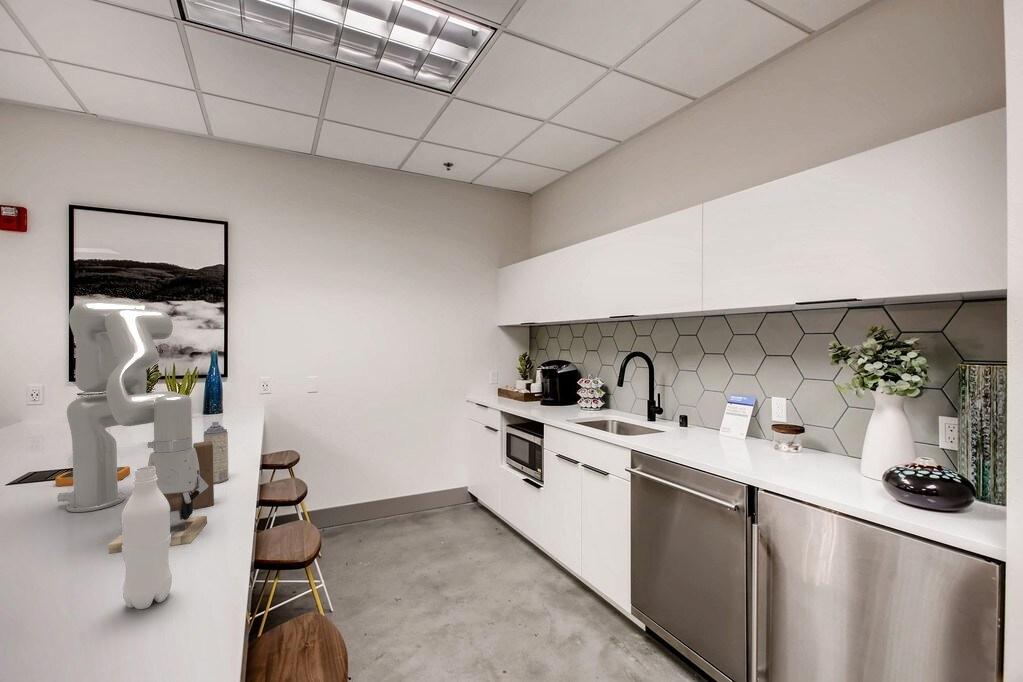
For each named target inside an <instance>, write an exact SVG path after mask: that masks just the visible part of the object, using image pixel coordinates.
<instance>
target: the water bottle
mask: <svg viewBox="0 0 1023 682" xmlns="http://www.w3.org/2000/svg"><path fill="white" fill-rule="evenodd" d="M155 473H156V469H155V467H154V466H148V465H147V466H142V467H138V468H136V469H135V470H134V479H133V483H132V484H134V487H133V492H132V494H131V495H130V496H129V498H128V500H127V502H126V503H125V506H124V507H123V510H122V512H121V517H120V520H121V523H122V524H121V525H122V526H121V527H122V530H121V531H122V532H121V534H123V544H122V552H121V553H122V555H123V559H124V564H125V577H124V581H123V582H124V583H123V585H122V598H123V600H124V602H125V604H126V606H127V607H128V608H131V609H132V608H135V609H137V610H145V609H148V608H149V607H151V605H152V603H153V601H154V600H155V601H156V602H157V603H162V602H163V601H165V600H166V598H167V597H168V595H169V594H170V591H171V587H172V583H173V579H172V578H173V576H172V572H171V569H170V564H169V552H170V547H171V546H170V542H171V534H170V505H169V503H168V501H167V499H166V498H165V496H164V495H163V494H162V492H161V491H160V490H159V488H158V486H157V483H156V480H158V478H157V477H156V476H157V475H156V474H155Z"/></svg>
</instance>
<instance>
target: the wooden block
mask: <svg viewBox="0 0 1023 682" xmlns="http://www.w3.org/2000/svg"><path fill="white" fill-rule="evenodd" d="M192 448H195V450H196V453H197V457H198V462H199V470H200V477H201V478H202V479H203V480H204V481H205V482H206V483H207V484H208V488H207V489H206V490H204V491H203V492H201V493H200V494H198V495H197V496H196V497H195V498H194V499H193V510H197V509H201V508H206V507H210V506H211V507H212V506H214V505H215V488H214V487H215V486H214V485H215V484H214V477H213V444H212V442H211V441H207V442H204V441H201V442H200V441H199V442H194V443H192ZM198 488H199V486H198V485H197V486H196V487H195V488H194V490H193V492H194V491H195V490H197V489H198Z"/></svg>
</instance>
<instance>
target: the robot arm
mask: <svg viewBox="0 0 1023 682" xmlns="http://www.w3.org/2000/svg"><path fill="white" fill-rule="evenodd" d="M68 320H69V321H68V322H69V326H70V329H71V332H72V335H73V336H74V337H73V338H74V341H75V344H76V345H75V346H76V351H75V384H76V387H77V389H78V390H80V391H82V392H85V393H96V392H98V393H99V392H105V394H99V395H89V396H84V397H80V398H77V399H75V400H74V399H73V401H71V402H70V403H69V405H68V406H67V408H66V418H67V421H68V425H69V429H70V435H71V447H72V471H73V485H72V486H73V491H72V492H60V493H58V495H56V496H57V497H56V498H57V502H58V503H59V502H68V503H67V505H66V507H65V508H66V511H67V512H71V513H86V512H91V511H97V510H102V509H107V508H110V507H112V506H116V505H118V504H120V503H122V502H123V501H124V500H125V498H126V497H125V494H124V493H122V492H121V493H120V492H119V488H118V485H119V483H118V482H119V481H118V480H117V467H118V445H117V441H116V439H115V437H114V436H113V435H112V434H111V433H109V432H108V431H107V430H106V428H110V427H115V426H122V427H135V426H140V425H145V424H146V425H147V424H153V434H154V435H153V436H154V437H153V441H149V442H148V443H147V448H148V449H149V448H150V449H153V452H151V453H150V454H149V458H148V463H147V467H148V466H154V467H155V469H156V473H155V474H156V475H157V476H156V477H157V478H158V480H156V483H157V486H158V488H159V490H160V491H161V492H162V494H163V495H165V494H176V493H183V496H184V499H185V503H184V504H183V519H184V520H187V519H188V518H189V517H191V515H192V514H193V512H194V509H193V499H194V498H195V497H196V496H197V495H198V494H200V493H201V492H203V491H204V490H206V489H207V488H208V484H207V483H206V482H205V481H204V480H203V479H202V478H201V477H200V470H199V462H198V457H197V453H196V450H195V448H193V421H192V420H193V418H192V417H193V414H192V413H193V412H192V411H193V408H192V398H191V397H190V396H189V395H188V394H184V393H183V394H181V393H178V392H177V391H171V390H169V391H158V392H147V382H148V381H147V379H148V375H147V374H148V373H147V370H148V369H149V368H151V367H153V366H155V364H157V363H158V361H159V358H160V354H159V351H158V350H157V347H156V345H155V342H154V340H158V341H159V340H166V339H168V338H169V337H171V335H172V333H173V329H174V328H173V327H174V325H173V322H172V319H171V317H170V315H169V314H168V313H167V312H166V311H165V310H162V309H160V308H158V307H155V306H152V305H150V304H147V303H142V302H141V303H139V302H137V303H136V302H121V301H119V302H118V301H99V300H98V301H93V300H92V301H81V302H78V303H76V304H74V305H73V306H72V308H70V310H69V317H68ZM197 485H198V486H199V488H198V489H197V490H195V491H194V492H193V490H194V488H195V487H196V486H197Z"/></svg>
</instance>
